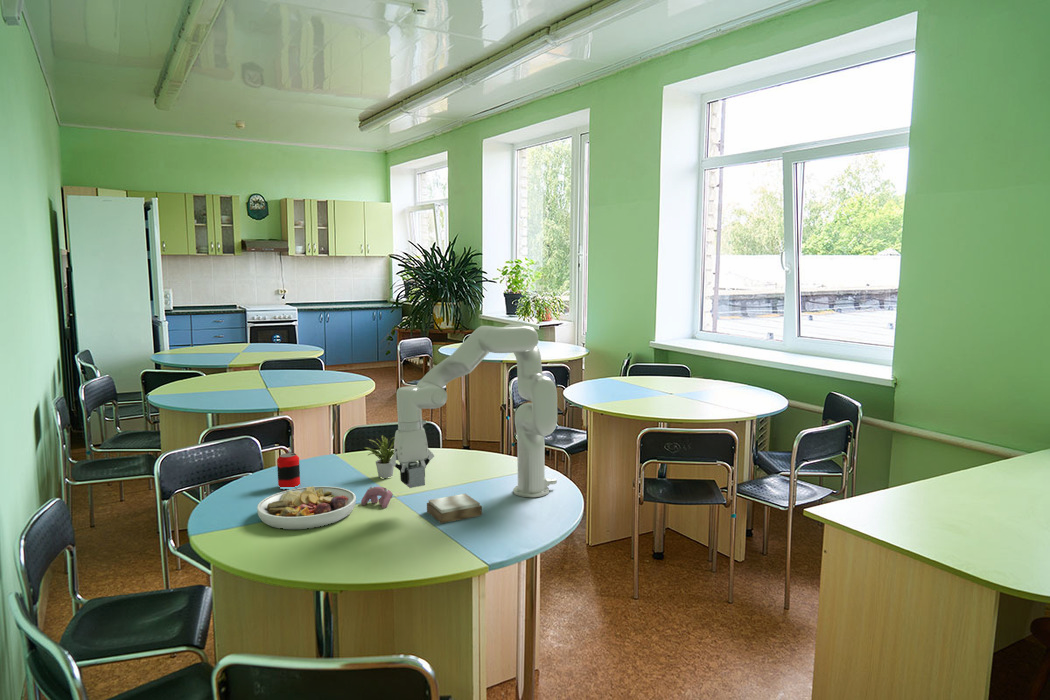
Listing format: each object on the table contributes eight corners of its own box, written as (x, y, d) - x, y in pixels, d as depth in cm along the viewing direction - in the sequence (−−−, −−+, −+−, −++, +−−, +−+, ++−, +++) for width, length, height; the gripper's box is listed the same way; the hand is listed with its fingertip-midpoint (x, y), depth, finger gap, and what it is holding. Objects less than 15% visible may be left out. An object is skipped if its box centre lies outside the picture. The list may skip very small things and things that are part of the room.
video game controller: (390, 510, 222) (395, 489, 224) (383, 508, 218) (388, 487, 220) (366, 506, 226) (371, 486, 228) (358, 504, 222) (364, 483, 224)
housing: (416, 478, 217) (415, 457, 216) (425, 485, 210) (424, 463, 209) (401, 481, 215) (400, 460, 214) (409, 488, 208) (408, 466, 207)
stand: (466, 504, 222) (466, 492, 222) (481, 515, 212) (481, 503, 211) (426, 511, 216) (426, 499, 215) (441, 523, 205) (440, 511, 205)
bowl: (236, 526, 205) (235, 501, 204) (300, 496, 233) (299, 474, 232) (317, 538, 195) (316, 512, 194) (374, 505, 223) (373, 483, 222)
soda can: (302, 488, 241) (301, 455, 240) (281, 491, 237) (279, 459, 236) (297, 482, 248) (295, 451, 246) (276, 486, 243) (274, 454, 242)
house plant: (388, 468, 265) (387, 428, 263) (413, 474, 257) (412, 433, 255) (360, 477, 253) (358, 435, 252) (385, 484, 245) (384, 440, 243)
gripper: (431, 419, 217) (433, 473, 220) (380, 427, 209) (383, 483, 211) (439, 424, 211) (442, 479, 213) (387, 431, 203) (390, 489, 205)
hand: (413, 480), depth 212 cm, fingers closed on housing, 5 cm apart
